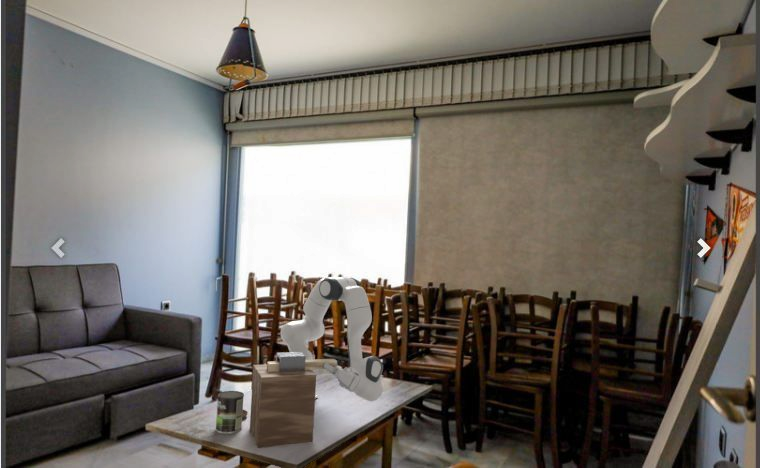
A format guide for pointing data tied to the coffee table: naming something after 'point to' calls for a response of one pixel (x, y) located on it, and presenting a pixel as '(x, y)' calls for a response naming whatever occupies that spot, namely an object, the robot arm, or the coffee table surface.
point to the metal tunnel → (291, 361)
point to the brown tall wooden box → (282, 407)
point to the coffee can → (229, 412)
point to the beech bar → (308, 364)
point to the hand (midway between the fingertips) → (322, 362)
